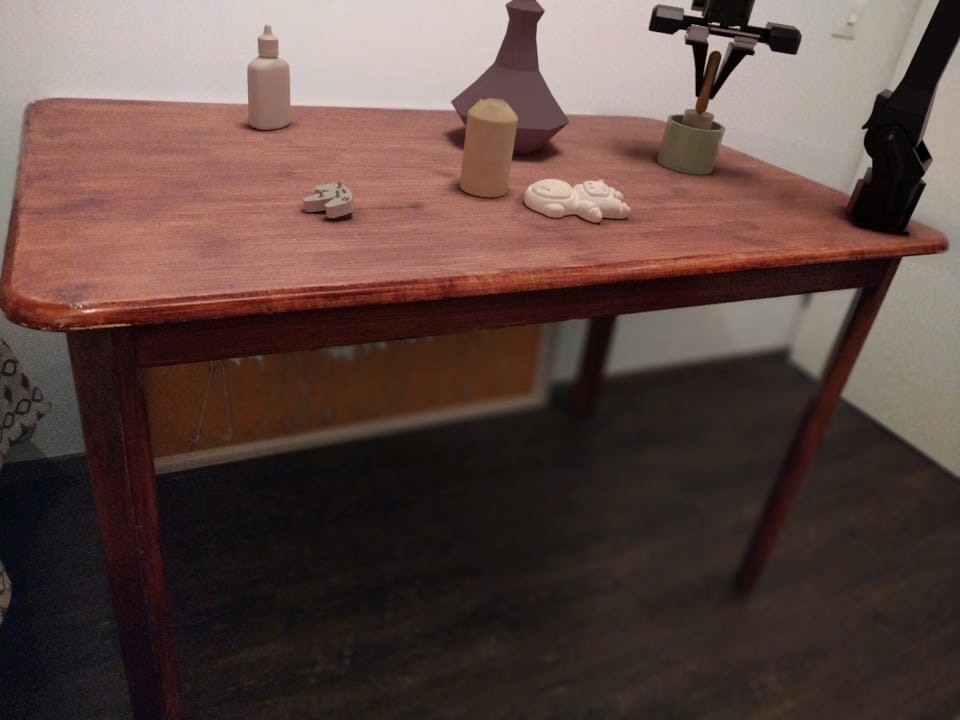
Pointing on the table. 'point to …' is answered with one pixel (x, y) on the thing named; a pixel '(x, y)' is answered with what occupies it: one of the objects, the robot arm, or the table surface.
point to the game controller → (331, 200)
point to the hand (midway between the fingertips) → (703, 97)
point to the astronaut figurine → (576, 200)
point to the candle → (488, 148)
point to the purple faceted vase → (518, 81)
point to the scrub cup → (689, 146)
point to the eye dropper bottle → (268, 85)
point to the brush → (704, 97)
